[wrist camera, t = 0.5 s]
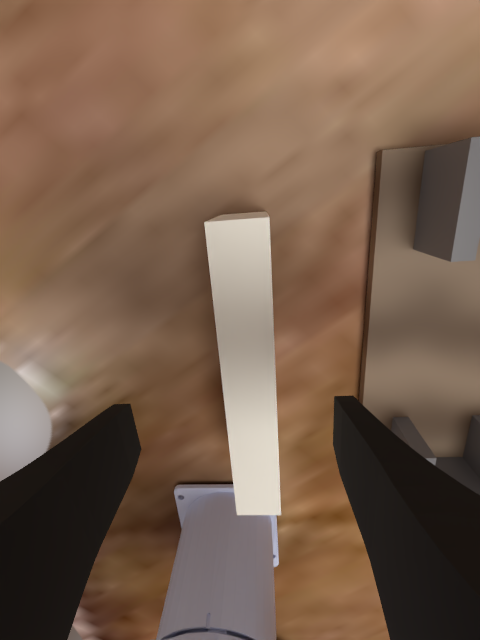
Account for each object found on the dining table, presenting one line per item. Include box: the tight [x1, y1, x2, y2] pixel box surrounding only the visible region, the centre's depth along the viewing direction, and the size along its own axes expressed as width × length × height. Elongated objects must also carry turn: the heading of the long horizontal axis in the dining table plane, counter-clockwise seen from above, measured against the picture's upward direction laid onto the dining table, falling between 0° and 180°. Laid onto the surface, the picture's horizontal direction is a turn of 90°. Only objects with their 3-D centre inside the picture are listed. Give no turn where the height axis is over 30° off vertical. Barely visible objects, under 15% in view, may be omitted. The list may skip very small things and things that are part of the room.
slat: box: [204, 211, 281, 515], centre depth 17 cm, size 16×2×6 cm, turn 4°
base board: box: [359, 144, 480, 457], centre depth 19 cm, size 21×10×1 cm, turn 5°
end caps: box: [391, 137, 480, 495], centre depth 17 cm, size 20×6×4 cm, turn 5°
